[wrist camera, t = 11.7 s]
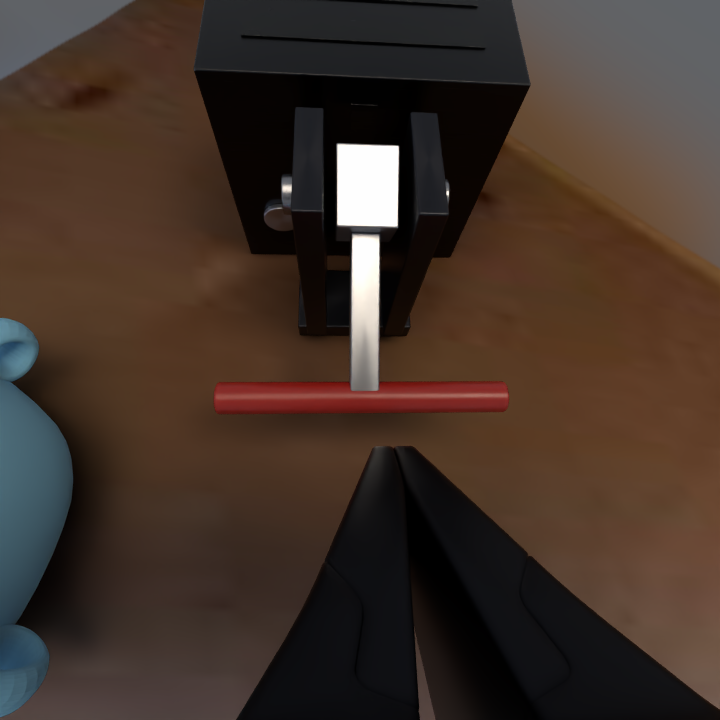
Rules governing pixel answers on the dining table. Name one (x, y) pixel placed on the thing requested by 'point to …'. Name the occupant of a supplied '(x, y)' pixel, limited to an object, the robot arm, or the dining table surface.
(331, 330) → the lever bracket
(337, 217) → the lever
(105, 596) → the dining table surface
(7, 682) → the decorative pot
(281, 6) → the toaster
